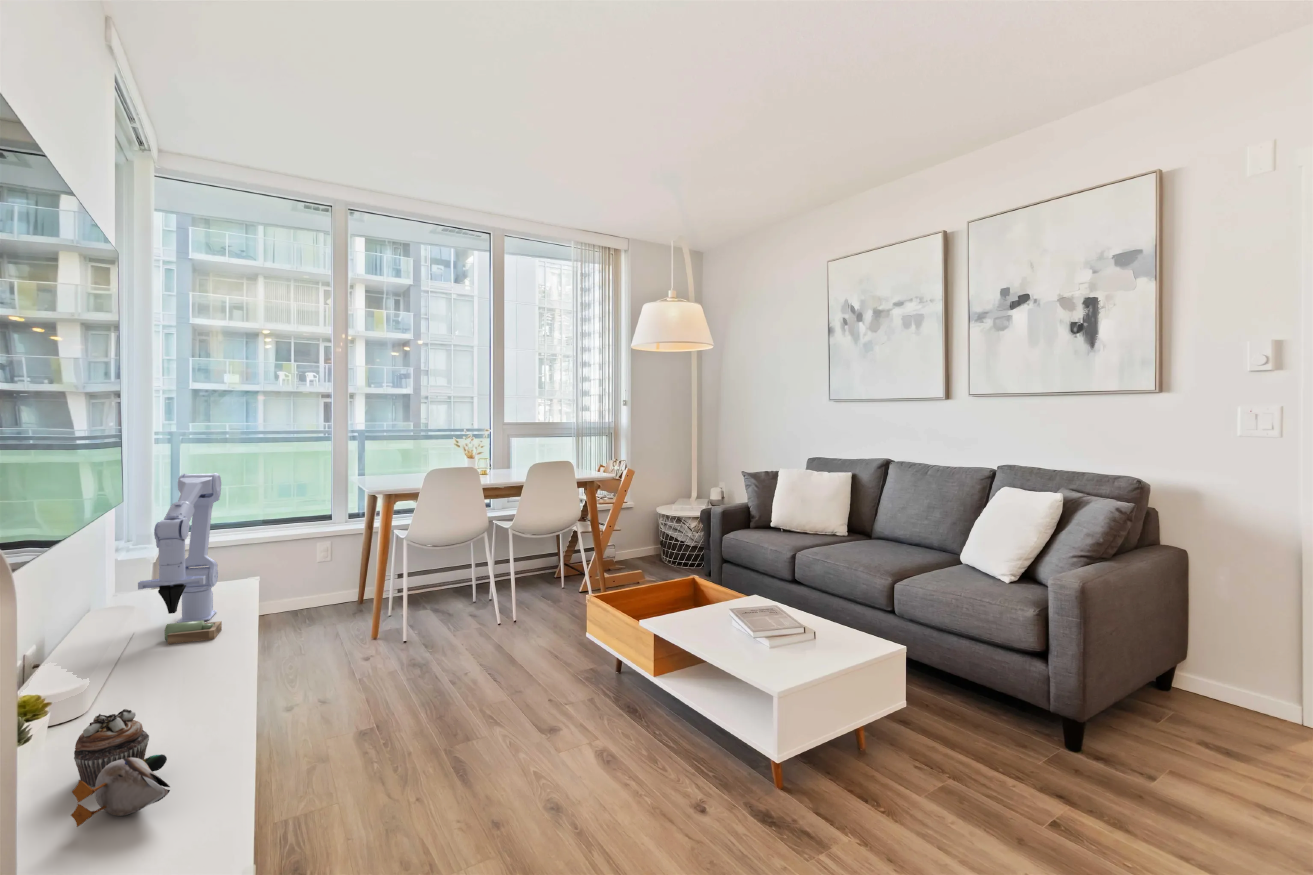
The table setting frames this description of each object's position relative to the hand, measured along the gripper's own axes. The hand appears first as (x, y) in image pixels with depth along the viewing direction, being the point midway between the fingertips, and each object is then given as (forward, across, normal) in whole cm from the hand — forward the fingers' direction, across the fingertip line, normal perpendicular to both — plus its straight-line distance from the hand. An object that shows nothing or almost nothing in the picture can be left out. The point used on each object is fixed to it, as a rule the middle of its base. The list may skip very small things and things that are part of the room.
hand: (172, 612), depth 168 cm
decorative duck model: (+8, +19, -87) cm, 89 cm away
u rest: (+7, +4, 0) cm, 9 cm away
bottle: (+5, -1, 0) cm, 5 cm away
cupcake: (+8, +11, -75) cm, 76 cm away
